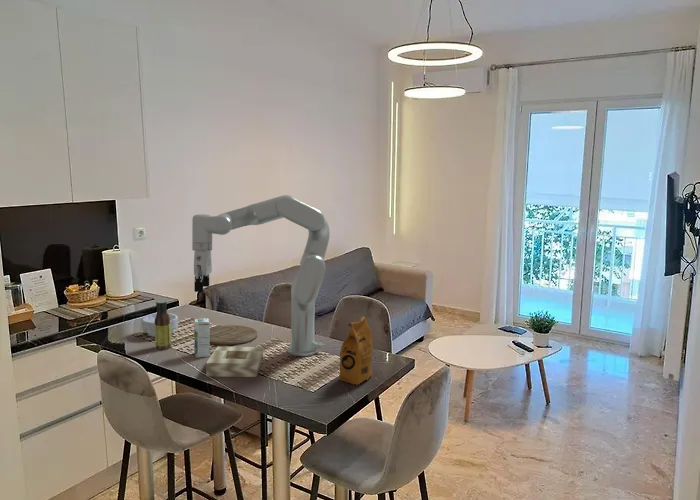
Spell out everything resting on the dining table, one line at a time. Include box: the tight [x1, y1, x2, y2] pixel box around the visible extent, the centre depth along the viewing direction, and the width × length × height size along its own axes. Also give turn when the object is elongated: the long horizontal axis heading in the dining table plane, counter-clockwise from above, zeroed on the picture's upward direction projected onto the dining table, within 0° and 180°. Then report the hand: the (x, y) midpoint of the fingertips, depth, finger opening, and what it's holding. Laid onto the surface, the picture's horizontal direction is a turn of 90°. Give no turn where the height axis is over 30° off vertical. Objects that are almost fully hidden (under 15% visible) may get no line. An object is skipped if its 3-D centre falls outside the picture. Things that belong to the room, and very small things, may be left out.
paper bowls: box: [141, 312, 179, 338], centre depth 234 cm, size 15×15×8 cm
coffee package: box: [339, 316, 374, 386], centre depth 188 cm, size 10×12×22 cm
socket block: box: [205, 346, 264, 378], centre depth 197 cm, size 18×18×5 cm
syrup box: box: [193, 317, 211, 359], centre depth 208 cm, size 6×6×14 cm
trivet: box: [210, 325, 258, 347], centre depth 233 cm, size 25×25×2 cm
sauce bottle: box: [154, 300, 172, 350], centre depth 215 cm, size 6×6×20 cm
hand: (202, 289), depth 206 cm, fingers open, 9 cm apart
